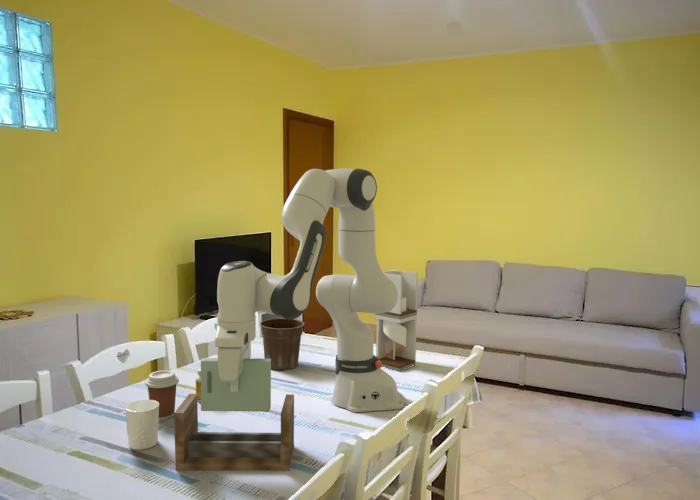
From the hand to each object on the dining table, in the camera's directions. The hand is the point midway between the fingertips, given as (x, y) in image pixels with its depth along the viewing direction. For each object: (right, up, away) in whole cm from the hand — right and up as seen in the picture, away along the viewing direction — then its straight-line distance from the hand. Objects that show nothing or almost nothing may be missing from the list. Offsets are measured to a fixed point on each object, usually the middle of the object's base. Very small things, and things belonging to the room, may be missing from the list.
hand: (236, 388), depth 128 cm
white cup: (-25, -16, +8) cm, 31 cm away
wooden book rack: (0, -17, +2) cm, 17 cm away
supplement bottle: (-18, -14, +38) cm, 44 cm away
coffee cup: (-27, -15, +26) cm, 40 cm away
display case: (+44, -11, +75) cm, 88 cm away
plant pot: (+2, -10, +73) cm, 73 cm away
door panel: (0, -5, 0) cm, 5 cm away
